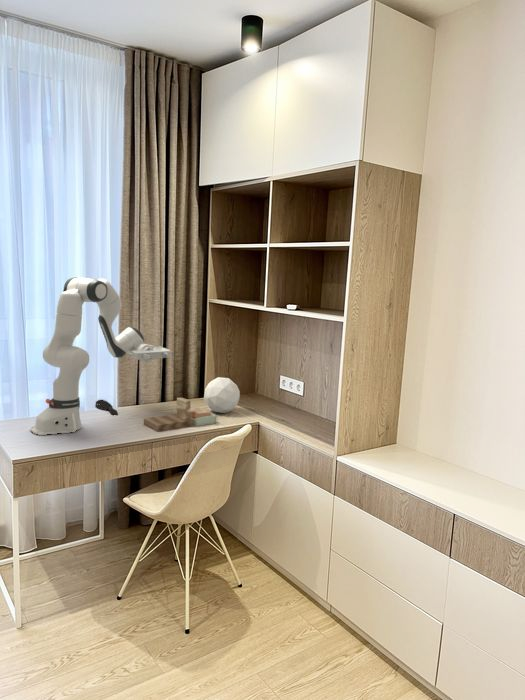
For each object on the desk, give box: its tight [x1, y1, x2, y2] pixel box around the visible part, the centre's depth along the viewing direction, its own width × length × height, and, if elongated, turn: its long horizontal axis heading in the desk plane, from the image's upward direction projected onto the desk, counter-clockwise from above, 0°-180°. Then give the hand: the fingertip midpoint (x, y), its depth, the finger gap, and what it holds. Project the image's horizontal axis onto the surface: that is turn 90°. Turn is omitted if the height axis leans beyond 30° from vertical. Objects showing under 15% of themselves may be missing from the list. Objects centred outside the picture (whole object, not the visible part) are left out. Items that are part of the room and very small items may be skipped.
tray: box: [190, 407, 217, 427], centre depth 273 cm, size 12×17×4 cm
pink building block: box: [194, 409, 212, 419], centre depth 271 cm, size 5×4×7 cm
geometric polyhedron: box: [203, 376, 241, 414], centre depth 291 cm, size 19×20×20 cm
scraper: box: [176, 397, 192, 419], centre depth 267 cm, size 3×8×9 cm, turn 39°
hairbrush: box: [94, 398, 119, 416], centre depth 286 cm, size 8×4×25 cm
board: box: [142, 413, 195, 432], centre depth 263 cm, size 20×14×3 cm
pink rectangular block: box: [190, 408, 201, 419], centre depth 273 cm, size 5×4×7 cm
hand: (158, 356), depth 269 cm, fingers open, 8 cm apart
